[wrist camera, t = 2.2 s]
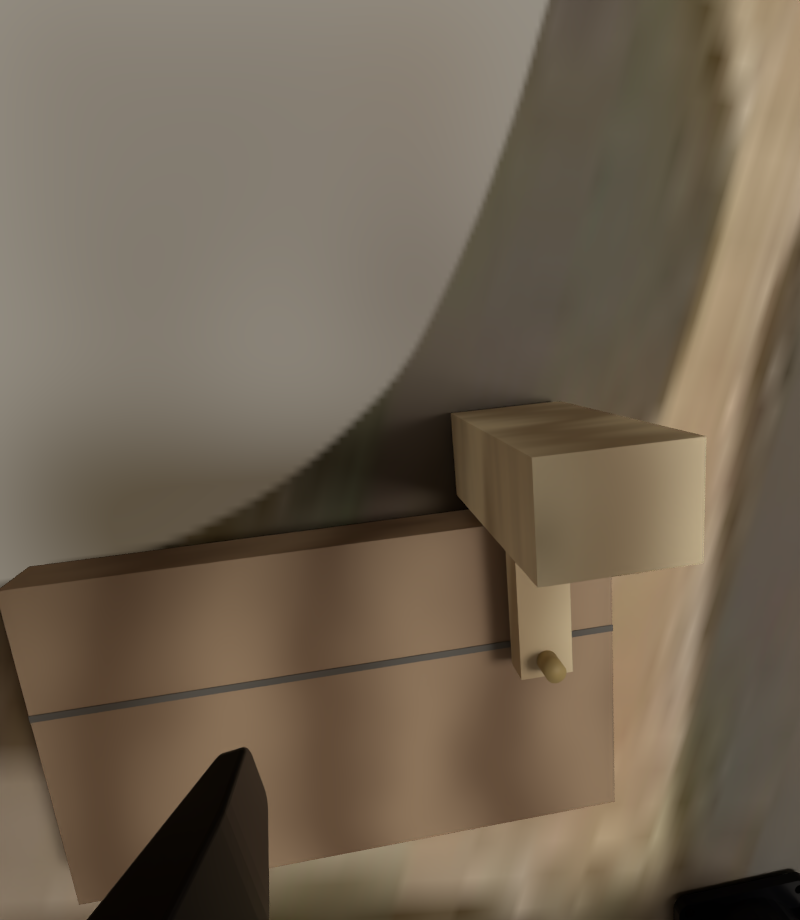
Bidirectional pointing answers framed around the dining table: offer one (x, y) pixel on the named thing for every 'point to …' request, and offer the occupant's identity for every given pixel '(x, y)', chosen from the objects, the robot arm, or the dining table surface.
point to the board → (305, 689)
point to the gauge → (576, 509)
